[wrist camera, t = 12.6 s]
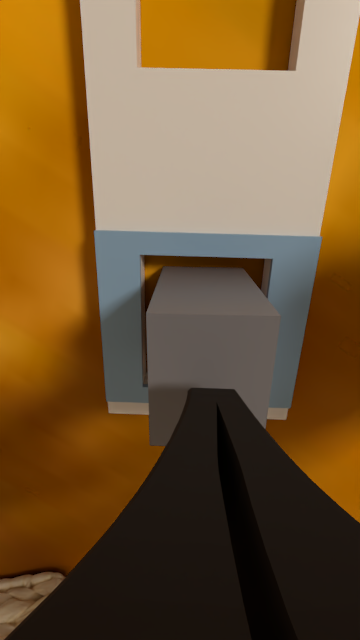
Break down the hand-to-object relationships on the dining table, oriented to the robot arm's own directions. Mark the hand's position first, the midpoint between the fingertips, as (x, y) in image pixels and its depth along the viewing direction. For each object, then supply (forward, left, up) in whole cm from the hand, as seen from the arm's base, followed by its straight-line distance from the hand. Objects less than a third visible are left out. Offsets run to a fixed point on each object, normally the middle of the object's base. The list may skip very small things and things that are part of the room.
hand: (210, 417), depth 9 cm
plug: (0, 0, -8) cm, 8 cm away
